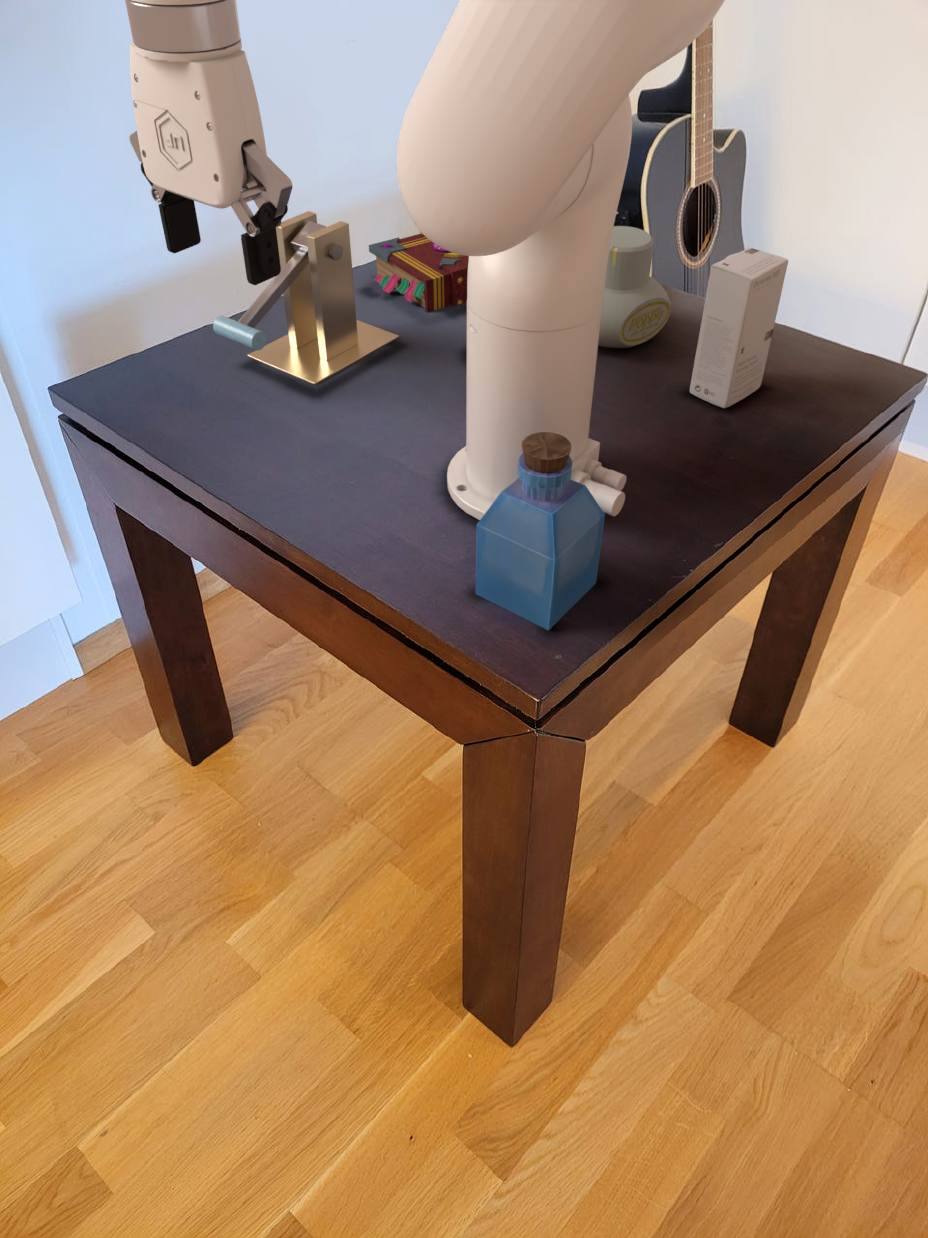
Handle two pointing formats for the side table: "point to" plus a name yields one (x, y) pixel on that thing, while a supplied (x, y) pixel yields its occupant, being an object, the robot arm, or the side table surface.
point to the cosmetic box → (737, 326)
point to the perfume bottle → (540, 536)
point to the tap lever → (267, 296)
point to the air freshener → (631, 292)
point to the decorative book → (421, 271)
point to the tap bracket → (320, 308)
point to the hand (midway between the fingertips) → (223, 262)
